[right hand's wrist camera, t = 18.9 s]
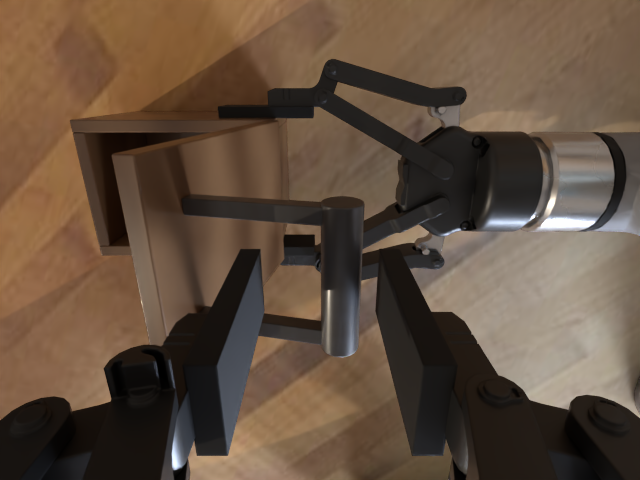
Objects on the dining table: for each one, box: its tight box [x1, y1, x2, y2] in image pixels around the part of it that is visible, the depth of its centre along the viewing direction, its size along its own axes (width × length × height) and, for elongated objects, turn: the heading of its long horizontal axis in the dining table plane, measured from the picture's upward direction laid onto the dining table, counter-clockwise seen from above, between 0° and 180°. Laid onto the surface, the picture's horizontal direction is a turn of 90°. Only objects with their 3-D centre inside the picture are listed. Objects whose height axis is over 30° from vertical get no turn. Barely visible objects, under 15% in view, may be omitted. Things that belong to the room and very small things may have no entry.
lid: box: [112, 120, 364, 357], centre depth 19 cm, size 14×10×8 cm
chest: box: [70, 111, 289, 256], centre depth 31 cm, size 13×10×10 cm
